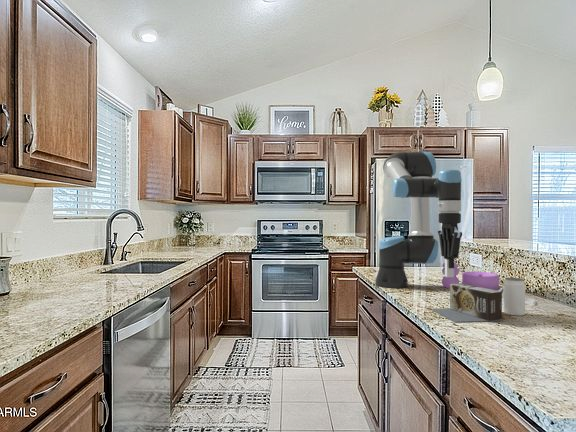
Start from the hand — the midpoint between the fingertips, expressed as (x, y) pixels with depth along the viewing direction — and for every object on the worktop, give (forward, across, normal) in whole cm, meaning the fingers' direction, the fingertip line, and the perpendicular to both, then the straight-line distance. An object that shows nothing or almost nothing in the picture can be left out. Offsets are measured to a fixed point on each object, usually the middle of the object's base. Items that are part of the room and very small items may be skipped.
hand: (449, 276), depth 139 cm
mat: (+11, +10, 0) cm, 15 cm away
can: (+12, +10, +18) cm, 24 cm away
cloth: (+12, -11, +30) cm, 34 cm away
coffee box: (+7, +2, +1) cm, 7 cm away
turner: (+12, +9, +12) cm, 19 cm away
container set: (+12, -36, +30) cm, 48 cm away
